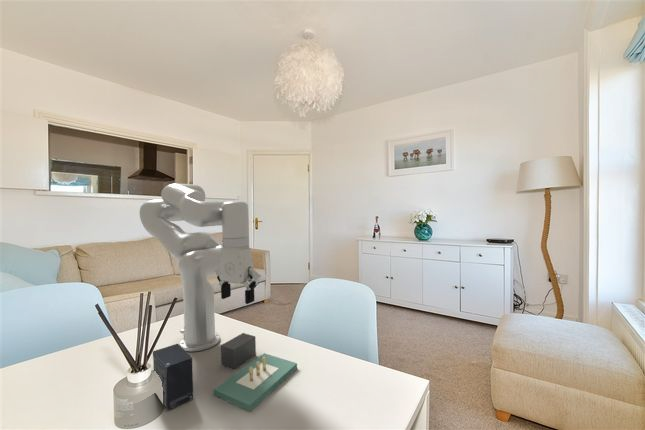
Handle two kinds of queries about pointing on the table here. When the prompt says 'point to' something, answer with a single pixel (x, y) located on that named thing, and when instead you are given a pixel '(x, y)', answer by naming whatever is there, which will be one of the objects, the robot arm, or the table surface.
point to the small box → (174, 375)
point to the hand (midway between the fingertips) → (237, 300)
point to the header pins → (257, 368)
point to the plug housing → (238, 351)
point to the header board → (255, 382)
